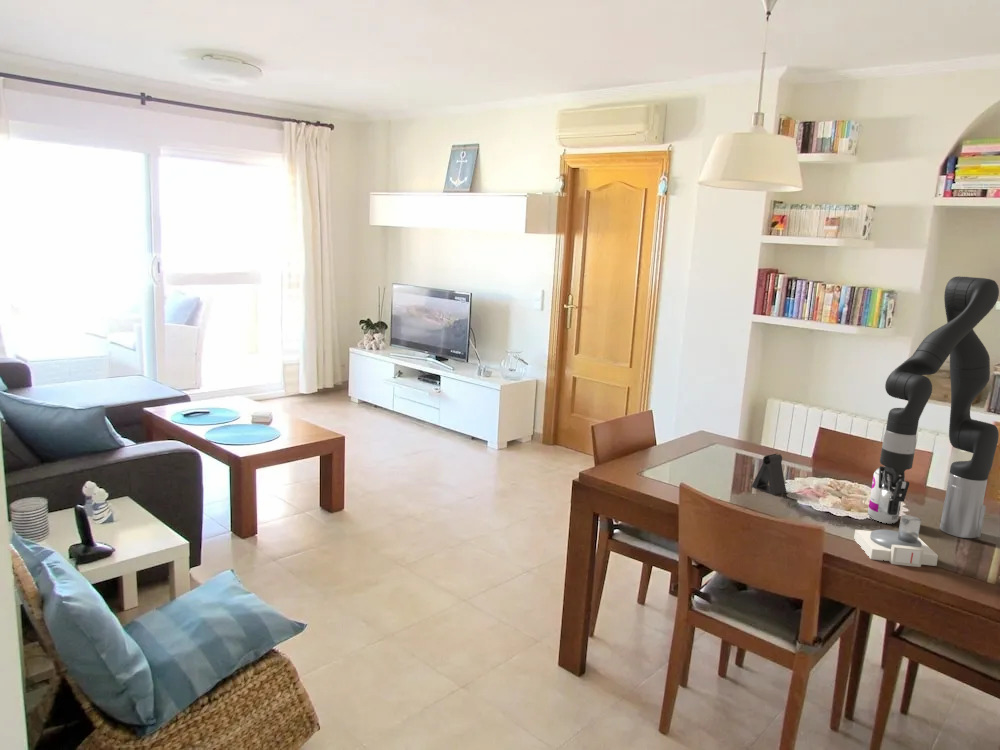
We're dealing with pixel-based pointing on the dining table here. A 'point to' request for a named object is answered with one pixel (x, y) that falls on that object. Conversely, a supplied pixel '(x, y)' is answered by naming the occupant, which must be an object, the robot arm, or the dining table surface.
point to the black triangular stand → (770, 476)
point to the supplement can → (875, 503)
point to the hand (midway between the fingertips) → (888, 510)
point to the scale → (894, 548)
